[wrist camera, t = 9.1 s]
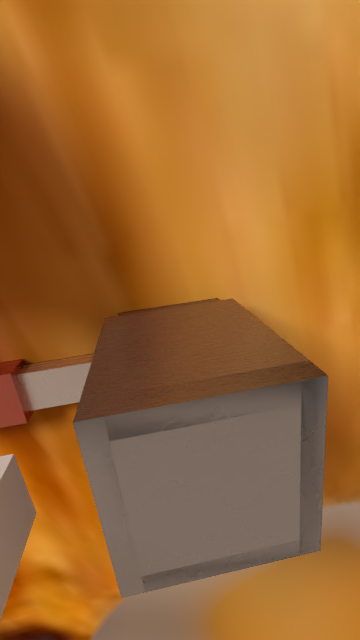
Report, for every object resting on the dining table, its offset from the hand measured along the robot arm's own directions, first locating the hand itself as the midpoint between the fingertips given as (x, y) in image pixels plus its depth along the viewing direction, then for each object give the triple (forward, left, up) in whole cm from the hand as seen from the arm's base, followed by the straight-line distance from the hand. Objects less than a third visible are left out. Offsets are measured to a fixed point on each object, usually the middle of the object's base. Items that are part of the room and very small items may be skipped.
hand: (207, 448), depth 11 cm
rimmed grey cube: (0, 0, -7) cm, 7 cm away
